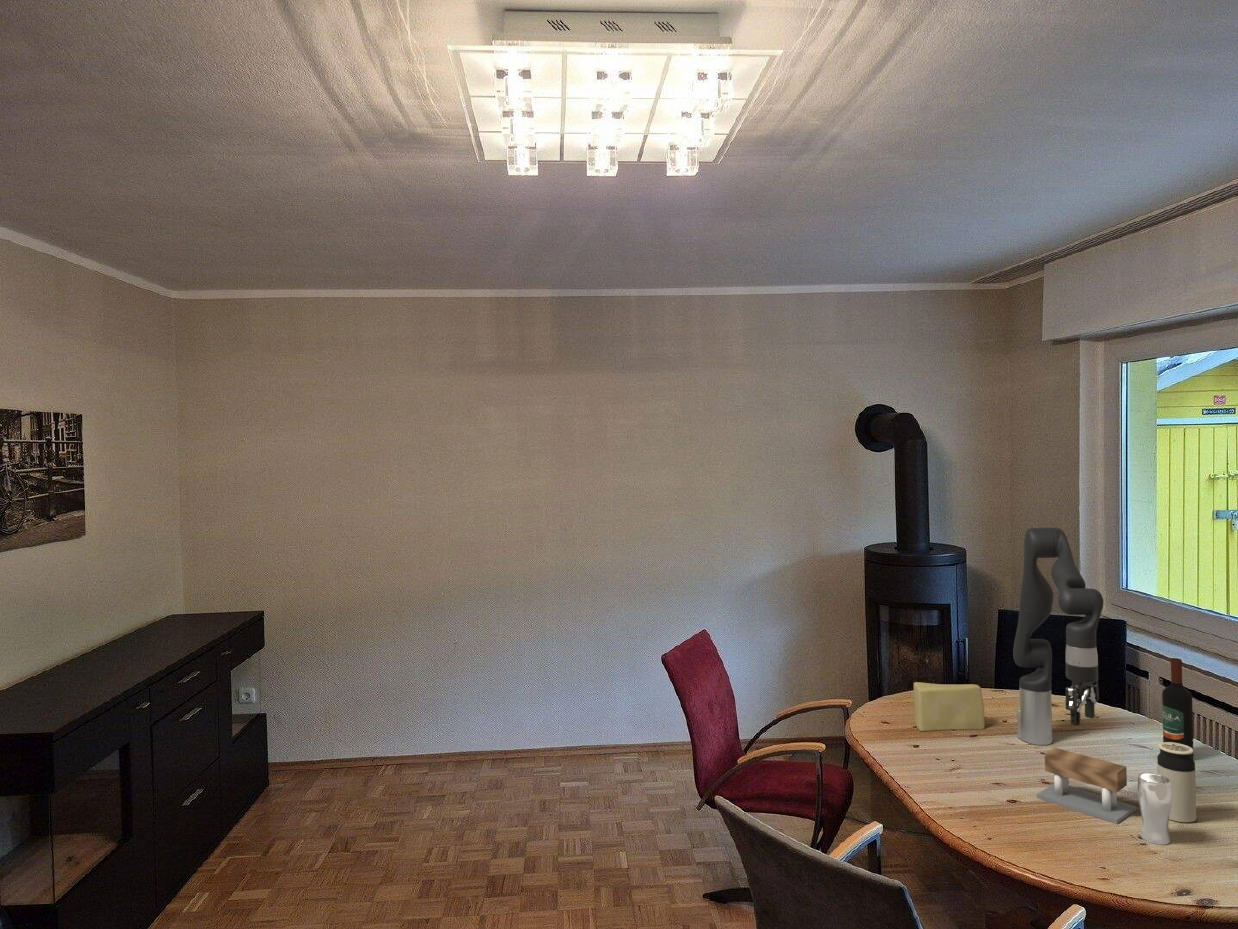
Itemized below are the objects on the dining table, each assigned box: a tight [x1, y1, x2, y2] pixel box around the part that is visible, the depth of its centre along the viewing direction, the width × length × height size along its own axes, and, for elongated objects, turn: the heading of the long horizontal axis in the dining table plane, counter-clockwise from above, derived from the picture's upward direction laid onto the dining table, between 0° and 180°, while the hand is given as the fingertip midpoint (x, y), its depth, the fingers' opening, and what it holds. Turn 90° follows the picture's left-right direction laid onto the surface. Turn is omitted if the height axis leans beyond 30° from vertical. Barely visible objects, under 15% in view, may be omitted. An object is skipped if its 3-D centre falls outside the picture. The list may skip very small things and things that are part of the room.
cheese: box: [913, 681, 985, 732], centre depth 270 cm, size 22×10×15 cm, turn 80°
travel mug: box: [1156, 741, 1197, 823], centre depth 202 cm, size 8×8×18 cm
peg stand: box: [1036, 773, 1137, 825], centre depth 211 cm, size 20×12×7 cm, turn 36°
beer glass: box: [1137, 772, 1172, 846], centre depth 191 cm, size 7×7×15 cm
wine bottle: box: [1161, 657, 1195, 758], centre depth 239 cm, size 8×8×30 cm
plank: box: [1044, 747, 1128, 793], centre depth 211 cm, size 18×6×5 cm, turn 38°
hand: (1082, 721), depth 211 cm, fingers open, 8 cm apart
